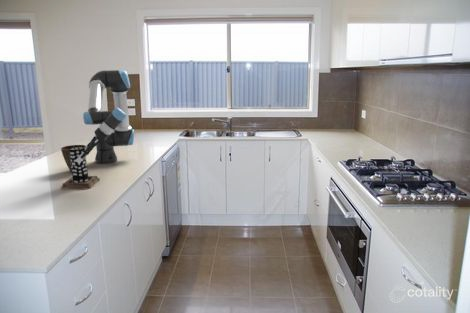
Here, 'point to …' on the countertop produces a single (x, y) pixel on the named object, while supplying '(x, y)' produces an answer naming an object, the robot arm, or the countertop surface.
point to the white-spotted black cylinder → (78, 165)
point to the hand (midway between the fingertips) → (78, 159)
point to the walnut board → (82, 185)
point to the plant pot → (66, 154)
